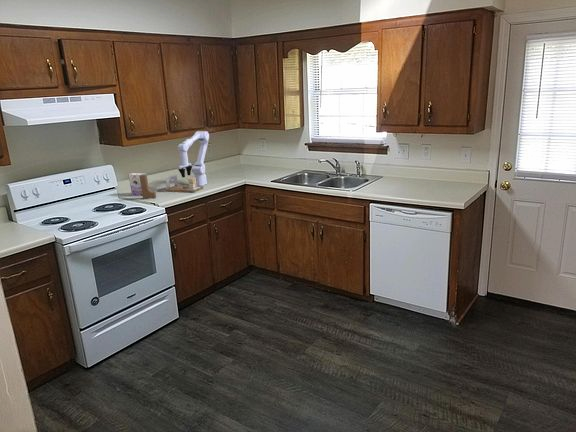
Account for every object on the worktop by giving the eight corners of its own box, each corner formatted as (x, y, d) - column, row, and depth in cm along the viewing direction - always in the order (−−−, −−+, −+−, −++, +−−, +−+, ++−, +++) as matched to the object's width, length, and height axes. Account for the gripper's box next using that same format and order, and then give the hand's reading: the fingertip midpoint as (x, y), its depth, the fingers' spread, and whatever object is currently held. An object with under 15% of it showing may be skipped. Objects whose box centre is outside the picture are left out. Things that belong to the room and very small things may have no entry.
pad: (191, 187, 359) (191, 186, 359) (200, 187, 356) (200, 187, 356) (186, 189, 352) (185, 189, 352) (194, 189, 349) (194, 189, 349)
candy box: (149, 194, 352) (146, 173, 347) (143, 195, 347) (140, 174, 342) (137, 192, 358) (134, 172, 354) (131, 194, 354) (128, 173, 349)
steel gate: (175, 185, 367) (174, 174, 364) (177, 185, 366) (176, 175, 364) (166, 188, 356) (165, 178, 354) (169, 188, 356) (167, 178, 353)
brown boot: (156, 196, 341) (152, 173, 336) (155, 198, 337) (151, 174, 332) (144, 197, 341) (140, 174, 335) (143, 199, 336) (139, 175, 331)
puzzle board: (175, 187, 369) (175, 185, 369) (203, 188, 359) (203, 186, 359) (164, 191, 357) (164, 189, 356) (193, 192, 347) (193, 190, 346)
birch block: (192, 187, 357) (191, 177, 354) (196, 187, 355) (195, 177, 353) (189, 188, 353) (188, 178, 351) (193, 188, 352) (192, 178, 349)
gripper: (185, 157, 361) (187, 174, 365) (174, 160, 348) (176, 178, 352) (192, 157, 358) (194, 174, 362) (182, 161, 345) (184, 178, 349)
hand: (186, 176), depth 357 cm, fingers open, 7 cm apart
